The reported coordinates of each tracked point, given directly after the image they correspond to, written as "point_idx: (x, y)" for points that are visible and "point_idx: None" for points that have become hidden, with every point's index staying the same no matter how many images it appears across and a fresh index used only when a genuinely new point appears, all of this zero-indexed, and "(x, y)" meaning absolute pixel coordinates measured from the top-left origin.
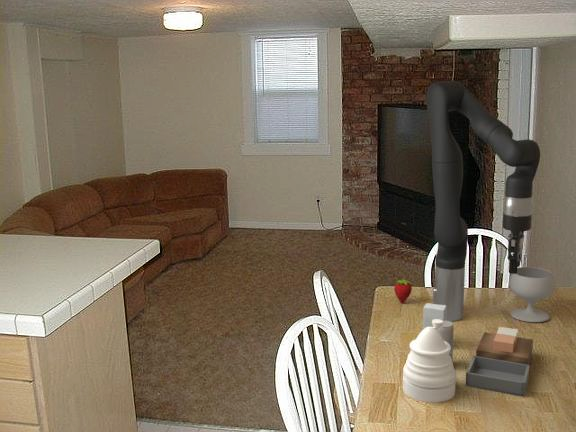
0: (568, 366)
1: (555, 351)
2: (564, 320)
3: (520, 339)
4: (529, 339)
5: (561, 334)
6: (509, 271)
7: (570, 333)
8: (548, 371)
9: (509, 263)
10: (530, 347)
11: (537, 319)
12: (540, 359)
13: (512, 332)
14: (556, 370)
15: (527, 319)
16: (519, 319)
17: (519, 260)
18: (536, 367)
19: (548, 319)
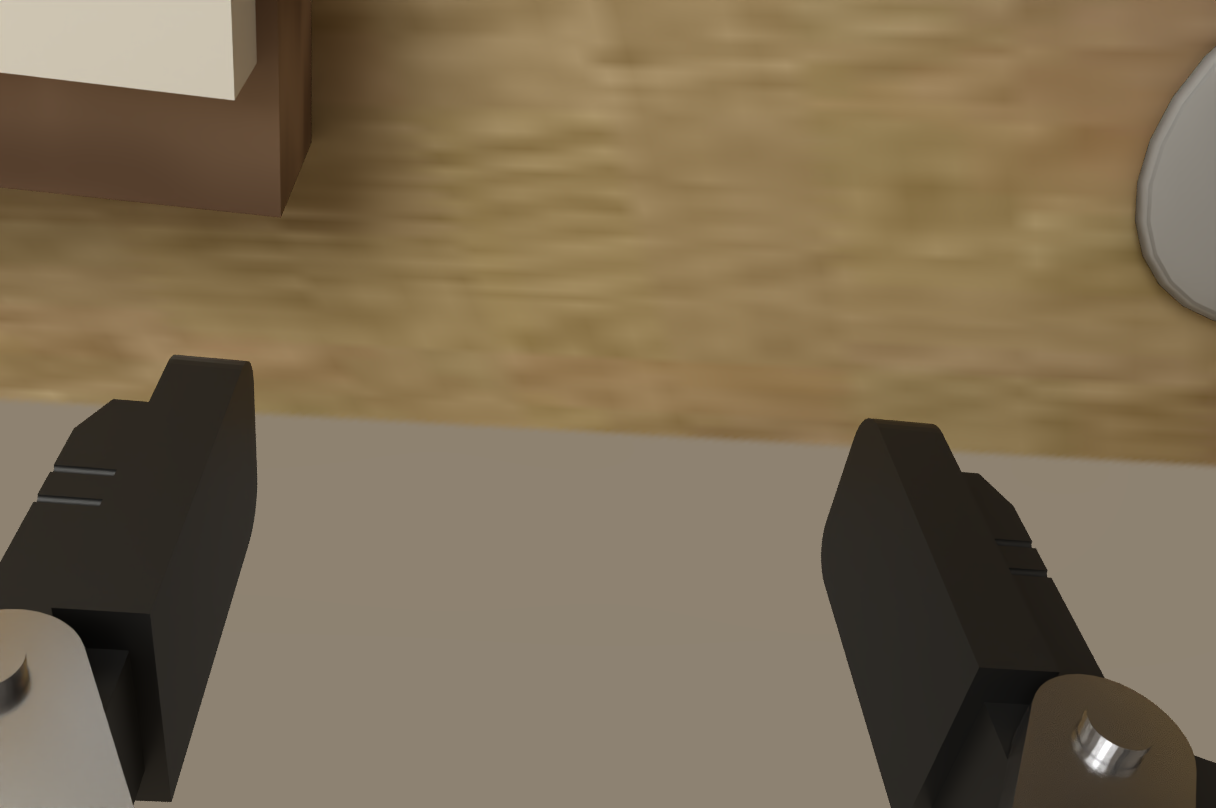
0: None
1: (495, 325)
2: (1197, 420)
3: None
4: (265, 183)
5: (877, 384)
6: (165, 385)
7: None
8: (50, 257)
9: (93, 538)
10: (43, 187)
11: (1178, 227)
12: None
13: (98, 32)
14: (105, 313)
15: (1187, 135)
16: (1214, 54)
17: (863, 672)
18: None
19: (1199, 312)
